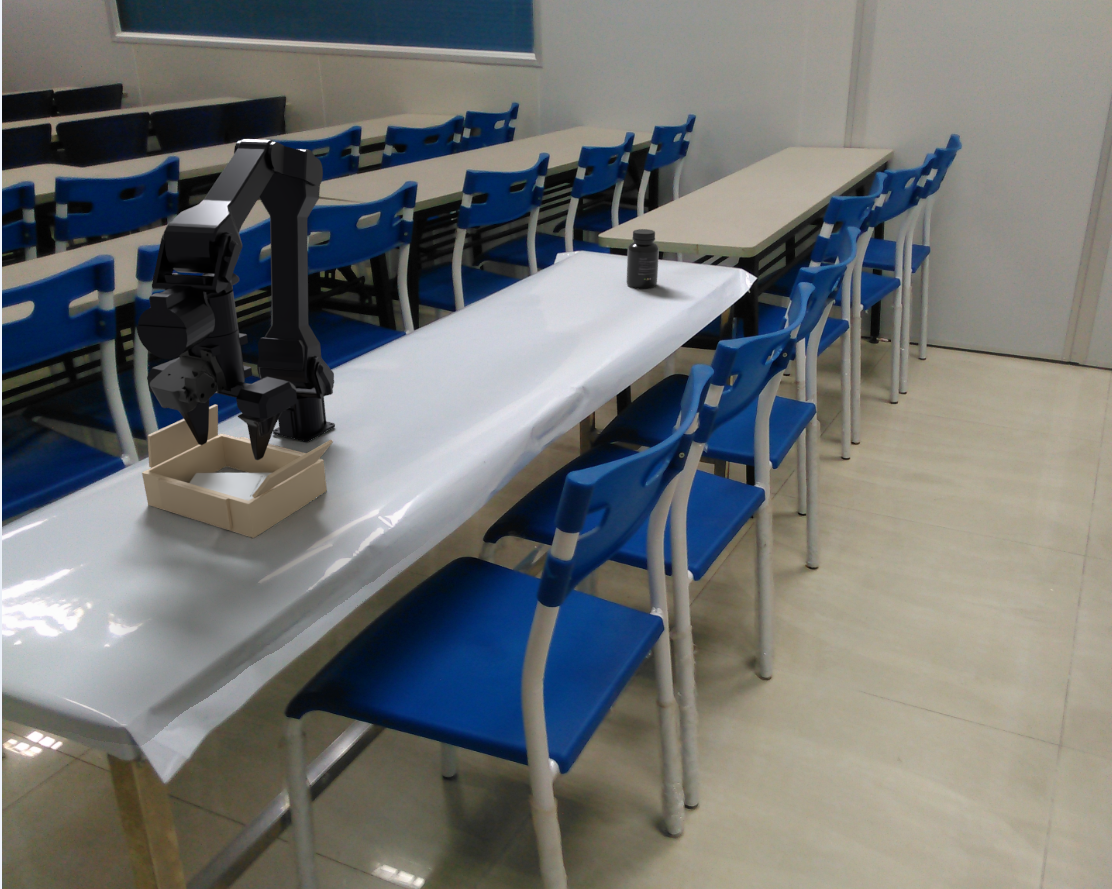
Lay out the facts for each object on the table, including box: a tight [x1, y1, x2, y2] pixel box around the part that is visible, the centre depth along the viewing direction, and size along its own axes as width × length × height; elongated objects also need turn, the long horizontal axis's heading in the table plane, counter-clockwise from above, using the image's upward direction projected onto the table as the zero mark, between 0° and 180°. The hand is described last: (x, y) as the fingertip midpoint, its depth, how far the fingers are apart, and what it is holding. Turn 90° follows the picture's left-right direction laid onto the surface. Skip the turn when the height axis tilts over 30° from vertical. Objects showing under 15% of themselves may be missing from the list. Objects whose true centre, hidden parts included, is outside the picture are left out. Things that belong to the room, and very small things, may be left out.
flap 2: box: [252, 439, 334, 498], centre depth 114 cm, size 4×11×1 cm
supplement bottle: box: [626, 228, 660, 290], centre depth 210 cm, size 7×7×12 cm
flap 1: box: [147, 404, 219, 468], centre depth 121 cm, size 4×11×1 cm
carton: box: [141, 433, 328, 539], centre depth 120 cm, size 14×17×4 cm
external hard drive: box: [190, 472, 271, 501], centre depth 120 cm, size 2×8×12 cm
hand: (230, 451), depth 118 cm, fingers open, 9 cm apart
